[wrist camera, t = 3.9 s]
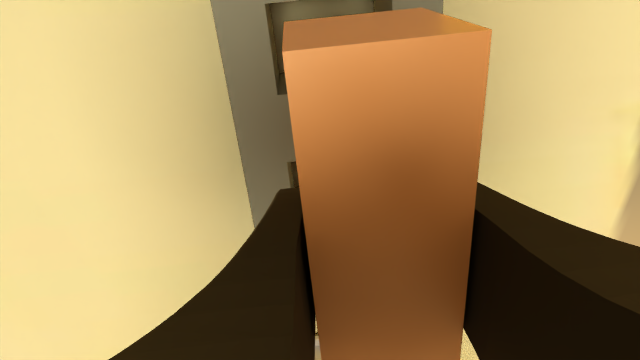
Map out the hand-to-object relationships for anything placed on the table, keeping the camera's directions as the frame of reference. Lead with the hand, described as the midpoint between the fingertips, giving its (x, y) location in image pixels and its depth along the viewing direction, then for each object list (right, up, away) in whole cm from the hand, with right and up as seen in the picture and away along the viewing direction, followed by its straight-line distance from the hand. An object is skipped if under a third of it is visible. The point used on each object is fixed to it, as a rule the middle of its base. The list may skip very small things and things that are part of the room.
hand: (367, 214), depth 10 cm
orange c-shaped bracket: (0, +2, +3) cm, 4 cm away
